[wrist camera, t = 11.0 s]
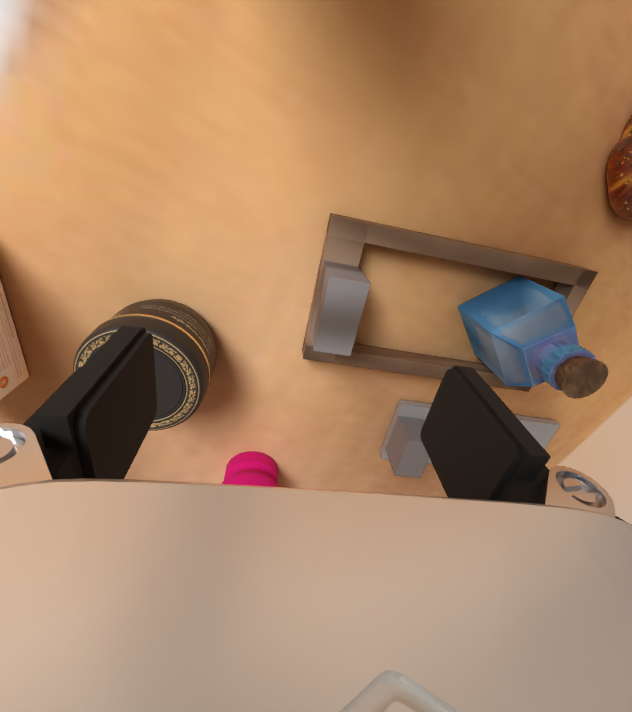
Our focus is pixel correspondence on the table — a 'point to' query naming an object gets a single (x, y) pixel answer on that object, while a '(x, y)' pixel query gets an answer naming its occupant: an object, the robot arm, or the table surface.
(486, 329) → the perfume bottle
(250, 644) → the robot arm
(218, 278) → the table surface
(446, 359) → the rectangular wooden frame
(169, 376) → the jar
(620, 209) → the pretzel
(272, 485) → the pepper mill
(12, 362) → the coffeecake box
